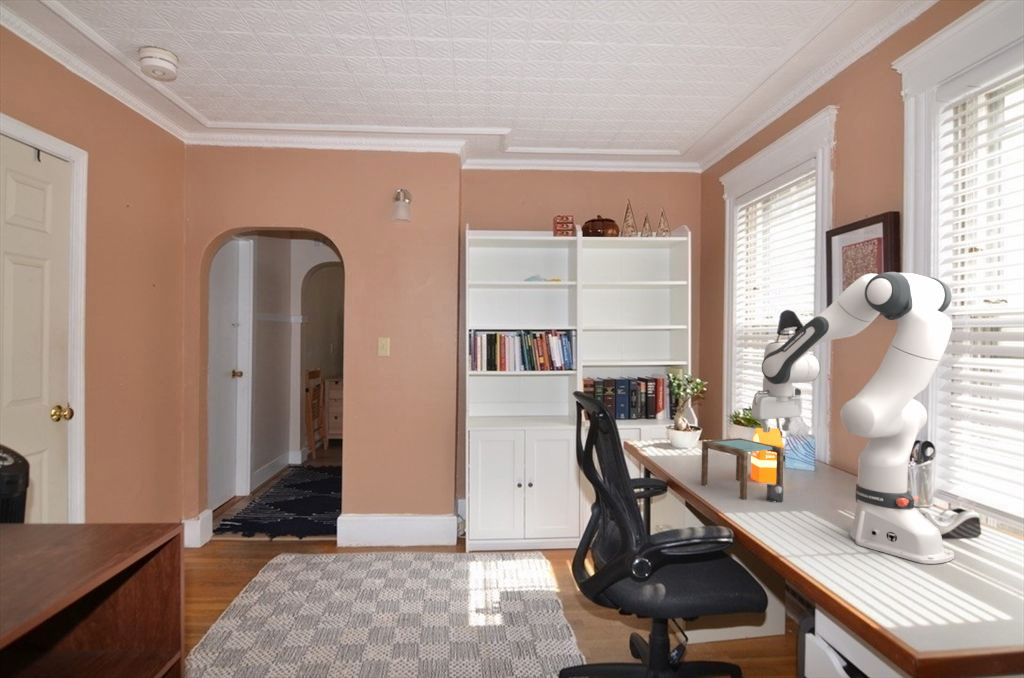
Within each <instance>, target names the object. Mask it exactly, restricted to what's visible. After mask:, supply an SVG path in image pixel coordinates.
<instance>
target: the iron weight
mask: <svg viewBox="0 0 1024 678" xmlns="http://www.w3.org/2000/svg"><path fill="white" fill-rule="evenodd" d="M766 500H767V501H768V500H770V501H769V502H771V501H776V502H775V503H783V502H784V484H783V485H780V484H776V483H766ZM782 501H783V502H782Z"/></svg>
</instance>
